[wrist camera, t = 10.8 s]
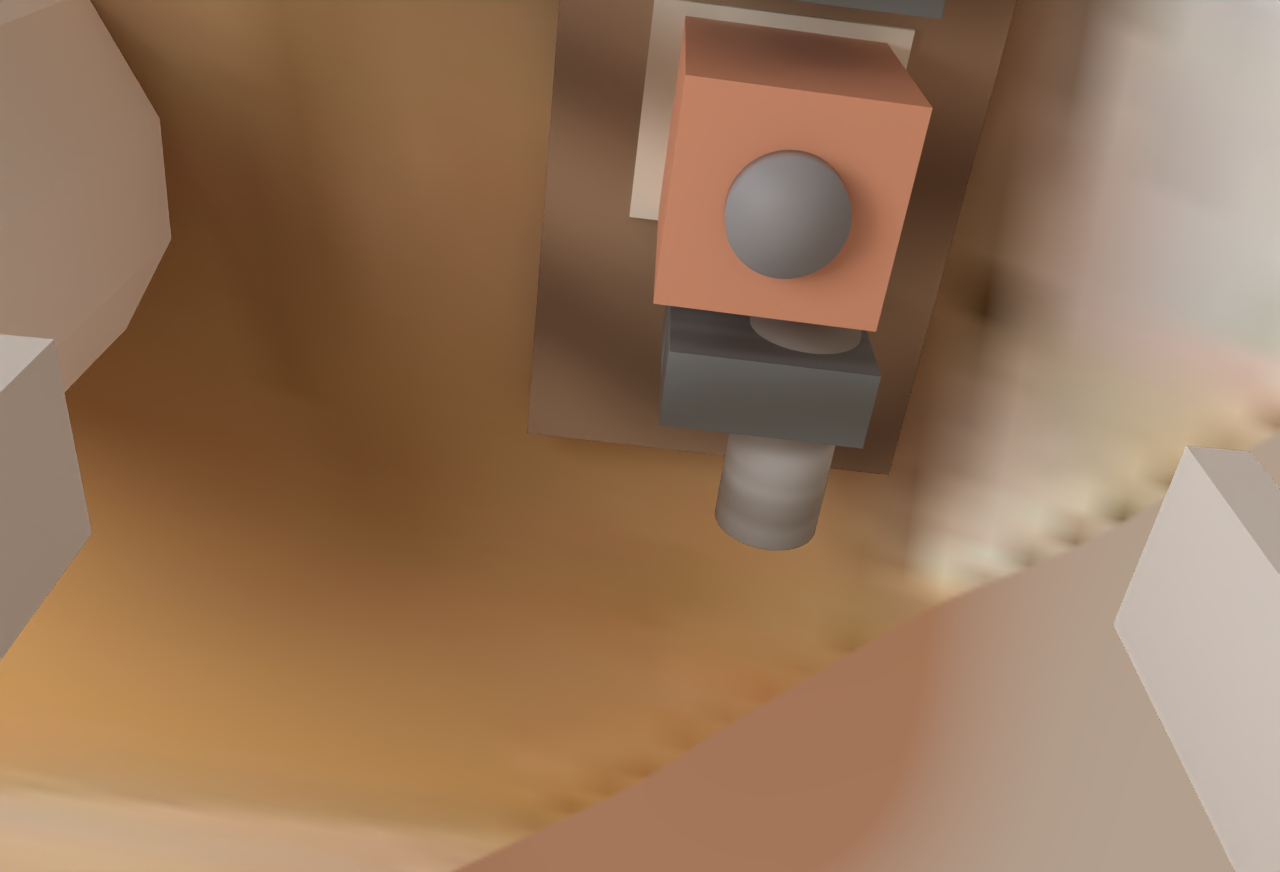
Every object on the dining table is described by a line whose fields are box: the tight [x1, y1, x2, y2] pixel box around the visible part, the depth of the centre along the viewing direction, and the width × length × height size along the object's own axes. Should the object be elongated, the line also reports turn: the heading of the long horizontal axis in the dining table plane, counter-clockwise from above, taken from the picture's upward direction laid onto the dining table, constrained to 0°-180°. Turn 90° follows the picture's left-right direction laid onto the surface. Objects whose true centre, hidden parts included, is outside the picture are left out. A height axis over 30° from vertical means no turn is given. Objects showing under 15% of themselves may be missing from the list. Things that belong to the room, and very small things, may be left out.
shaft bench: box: [527, 0, 1017, 551], centre depth 28 cm, size 20×11×7 cm, turn 173°
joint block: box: [653, 16, 933, 332], centre depth 26 cm, size 5×5×7 cm
